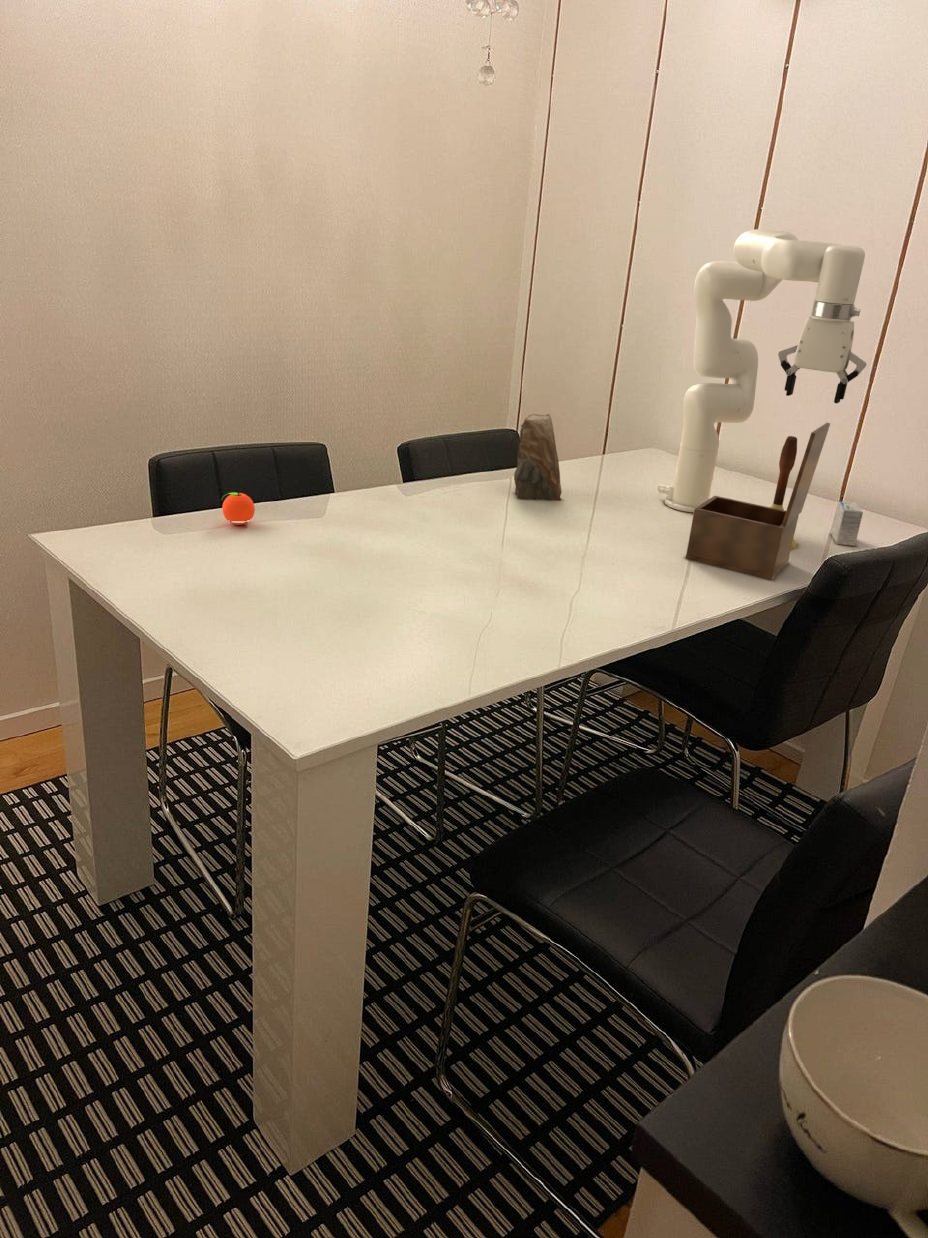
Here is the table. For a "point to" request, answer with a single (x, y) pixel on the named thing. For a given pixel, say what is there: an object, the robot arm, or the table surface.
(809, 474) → the lid
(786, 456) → the handbell
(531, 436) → the brown rock
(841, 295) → the robot arm
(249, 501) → the clementine
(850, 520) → the medicine box
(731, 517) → the chest
